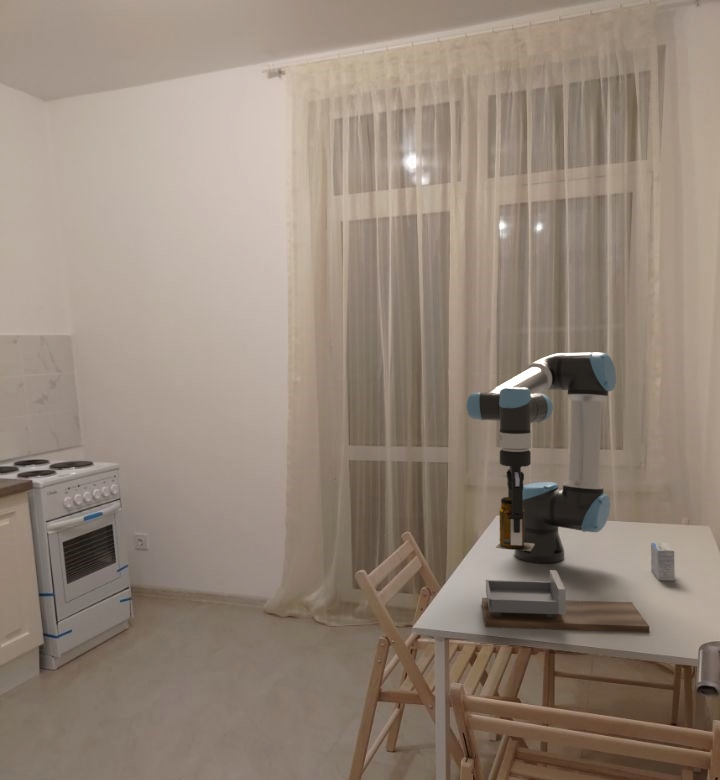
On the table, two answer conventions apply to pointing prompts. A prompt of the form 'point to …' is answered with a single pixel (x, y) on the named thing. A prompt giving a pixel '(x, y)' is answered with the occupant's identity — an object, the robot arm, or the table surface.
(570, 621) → the rail board
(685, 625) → the table surface
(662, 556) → the medicine box
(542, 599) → the cart
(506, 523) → the condiment
